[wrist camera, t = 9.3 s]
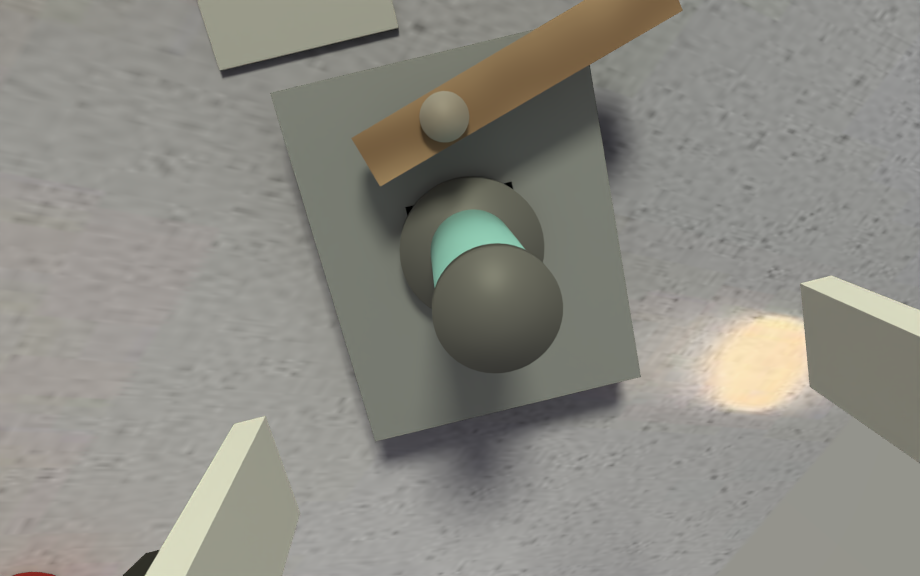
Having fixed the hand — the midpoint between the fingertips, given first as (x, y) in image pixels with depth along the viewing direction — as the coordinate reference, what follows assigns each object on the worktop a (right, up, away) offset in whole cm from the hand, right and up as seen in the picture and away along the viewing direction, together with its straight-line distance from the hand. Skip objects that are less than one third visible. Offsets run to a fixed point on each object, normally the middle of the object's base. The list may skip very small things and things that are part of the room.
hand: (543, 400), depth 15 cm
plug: (-2, +6, +23) cm, 24 cm away
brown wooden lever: (0, +13, +17) cm, 21 cm away
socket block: (-2, +6, +23) cm, 24 cm away
